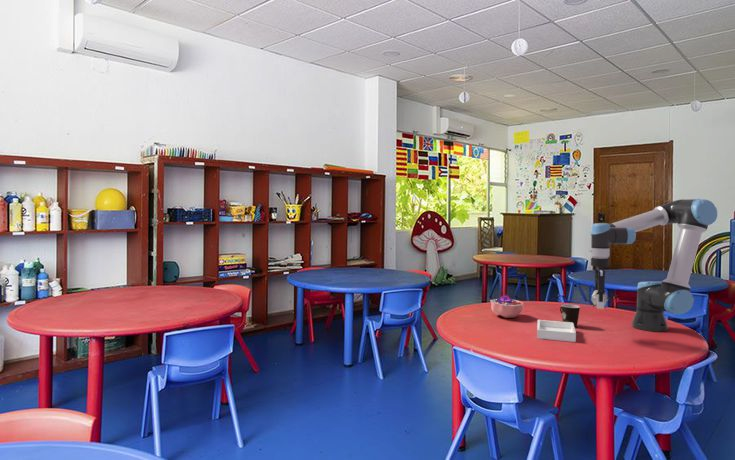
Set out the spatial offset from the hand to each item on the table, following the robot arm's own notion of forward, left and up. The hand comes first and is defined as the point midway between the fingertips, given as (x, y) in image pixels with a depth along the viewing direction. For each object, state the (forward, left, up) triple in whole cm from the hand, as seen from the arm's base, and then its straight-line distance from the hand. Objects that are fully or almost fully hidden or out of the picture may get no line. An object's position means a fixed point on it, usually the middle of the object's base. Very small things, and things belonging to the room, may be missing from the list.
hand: (599, 306), depth 222 cm
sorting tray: (+18, +2, -14) cm, 23 cm away
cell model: (+42, -28, -14) cm, 53 cm away
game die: (0, 0, -1) cm, 1 cm away
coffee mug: (+11, -20, -14) cm, 27 cm away
